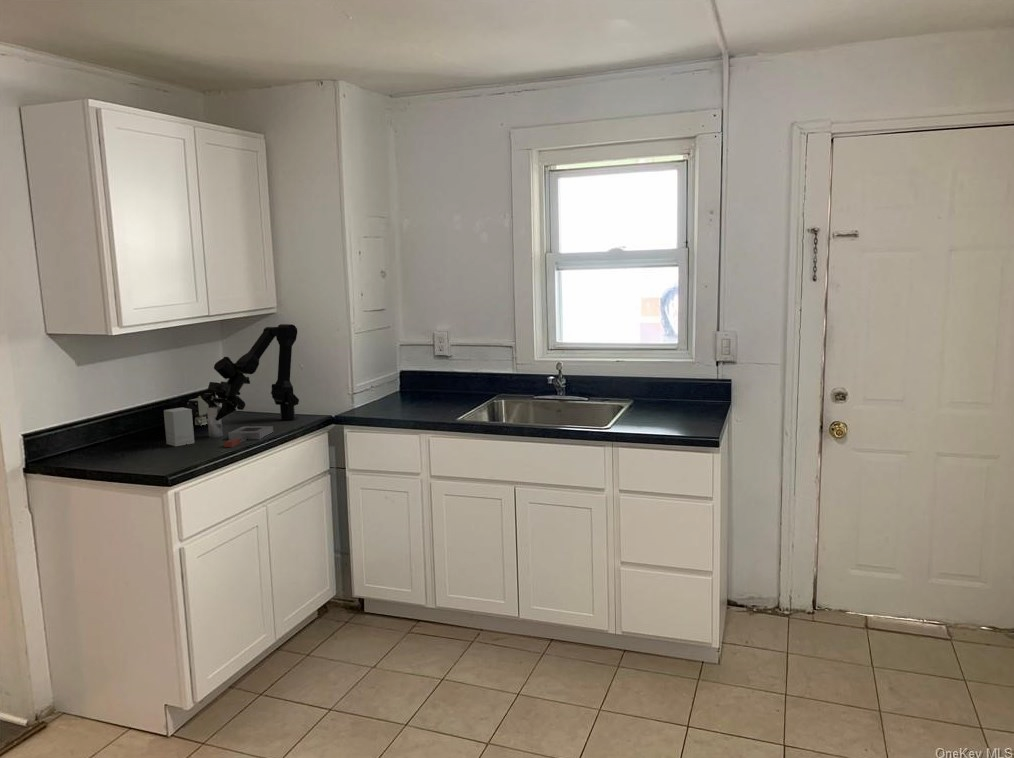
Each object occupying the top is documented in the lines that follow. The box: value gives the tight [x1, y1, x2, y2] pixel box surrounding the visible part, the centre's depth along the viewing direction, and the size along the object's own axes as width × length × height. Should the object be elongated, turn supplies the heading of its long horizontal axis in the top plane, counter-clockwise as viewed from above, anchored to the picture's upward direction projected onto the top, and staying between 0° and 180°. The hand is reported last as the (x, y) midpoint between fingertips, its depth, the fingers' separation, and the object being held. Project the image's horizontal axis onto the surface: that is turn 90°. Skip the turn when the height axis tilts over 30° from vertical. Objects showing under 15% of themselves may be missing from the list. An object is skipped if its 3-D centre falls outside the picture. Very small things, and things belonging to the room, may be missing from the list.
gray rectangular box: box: [223, 425, 274, 448], centre depth 288 cm, size 25×12×2 cm, turn 174°
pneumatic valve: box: [185, 395, 208, 427], centre depth 318 cm, size 6×12×12 cm, turn 162°
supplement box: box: [163, 407, 195, 447], centre depth 284 cm, size 7×7×13 cm
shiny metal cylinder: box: [206, 405, 224, 438], centre depth 296 cm, size 5×5×11 cm
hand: (211, 419), depth 294 cm, fingers closed on shiny metal cylinder, 5 cm apart
